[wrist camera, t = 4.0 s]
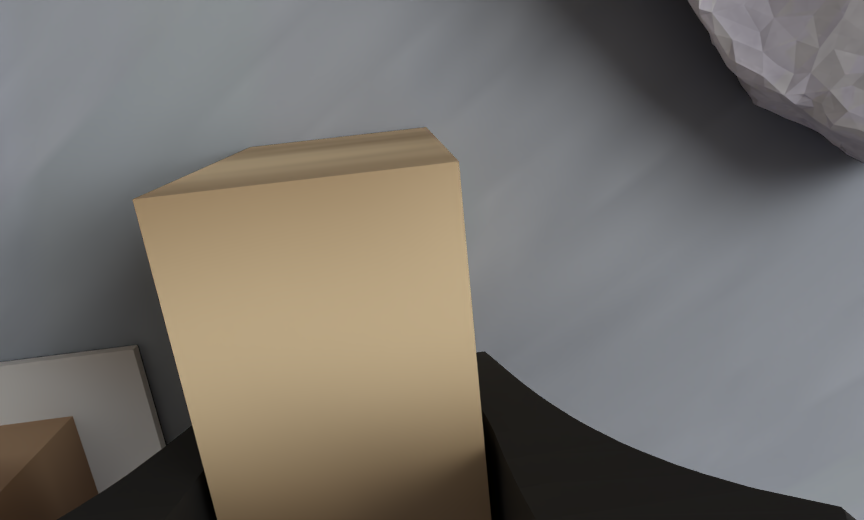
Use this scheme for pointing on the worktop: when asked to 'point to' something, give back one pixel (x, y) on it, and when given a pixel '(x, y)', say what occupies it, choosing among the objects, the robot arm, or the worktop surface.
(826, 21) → the stone block
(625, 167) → the worktop surface
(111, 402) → the base with blocks
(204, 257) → the lintel
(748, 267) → the worktop surface
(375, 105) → the worktop surface
